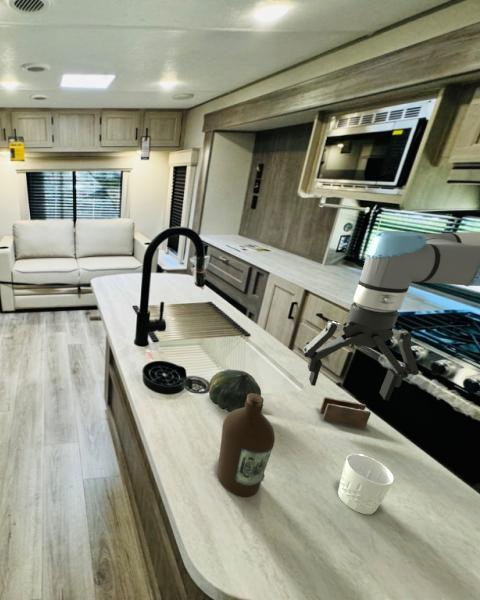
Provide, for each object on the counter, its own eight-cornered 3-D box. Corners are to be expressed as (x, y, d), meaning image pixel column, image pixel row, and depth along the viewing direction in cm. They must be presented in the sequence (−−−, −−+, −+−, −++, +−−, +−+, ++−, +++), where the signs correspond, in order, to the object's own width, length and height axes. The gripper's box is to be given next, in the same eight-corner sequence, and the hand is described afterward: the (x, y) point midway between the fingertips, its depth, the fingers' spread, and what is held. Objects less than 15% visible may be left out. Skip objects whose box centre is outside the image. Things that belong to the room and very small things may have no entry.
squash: (210, 371, 111) (215, 358, 99) (256, 381, 106) (268, 369, 93) (204, 411, 106) (209, 402, 93) (253, 424, 101) (265, 417, 88)
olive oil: (206, 463, 82) (220, 384, 73) (245, 460, 82) (263, 381, 73) (227, 502, 72) (246, 416, 63) (271, 498, 73) (296, 412, 64)
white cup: (374, 494, 73) (388, 462, 69) (383, 524, 67) (399, 491, 63) (332, 479, 77) (343, 448, 73) (337, 506, 70) (349, 474, 67)
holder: (357, 421, 94) (364, 403, 92) (364, 433, 90) (371, 414, 88) (318, 413, 98) (323, 395, 95) (322, 424, 94) (328, 405, 91)
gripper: (308, 304, 67) (287, 385, 75) (469, 322, 58) (426, 414, 65) (301, 293, 74) (282, 369, 81) (445, 308, 64) (409, 393, 72)
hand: (346, 389), depth 73 cm, fingers open, 13 cm apart
